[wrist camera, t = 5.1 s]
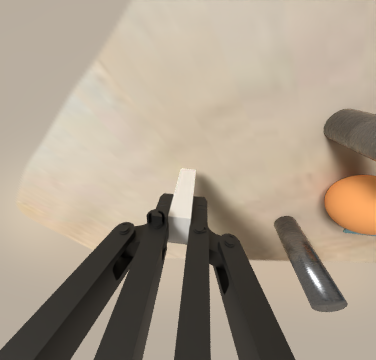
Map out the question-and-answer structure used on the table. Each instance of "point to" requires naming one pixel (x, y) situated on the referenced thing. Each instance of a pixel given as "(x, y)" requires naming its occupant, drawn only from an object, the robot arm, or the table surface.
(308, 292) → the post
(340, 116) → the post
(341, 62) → the table surface
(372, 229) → the ball
